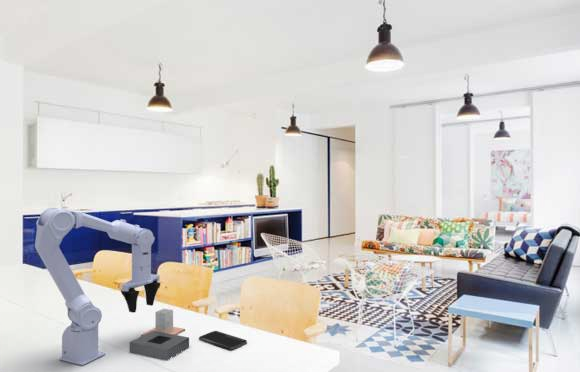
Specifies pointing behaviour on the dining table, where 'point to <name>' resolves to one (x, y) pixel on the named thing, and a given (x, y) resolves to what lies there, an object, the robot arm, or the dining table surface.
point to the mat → (174, 332)
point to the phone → (223, 340)
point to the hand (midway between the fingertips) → (141, 308)
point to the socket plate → (159, 345)
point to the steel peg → (164, 321)
